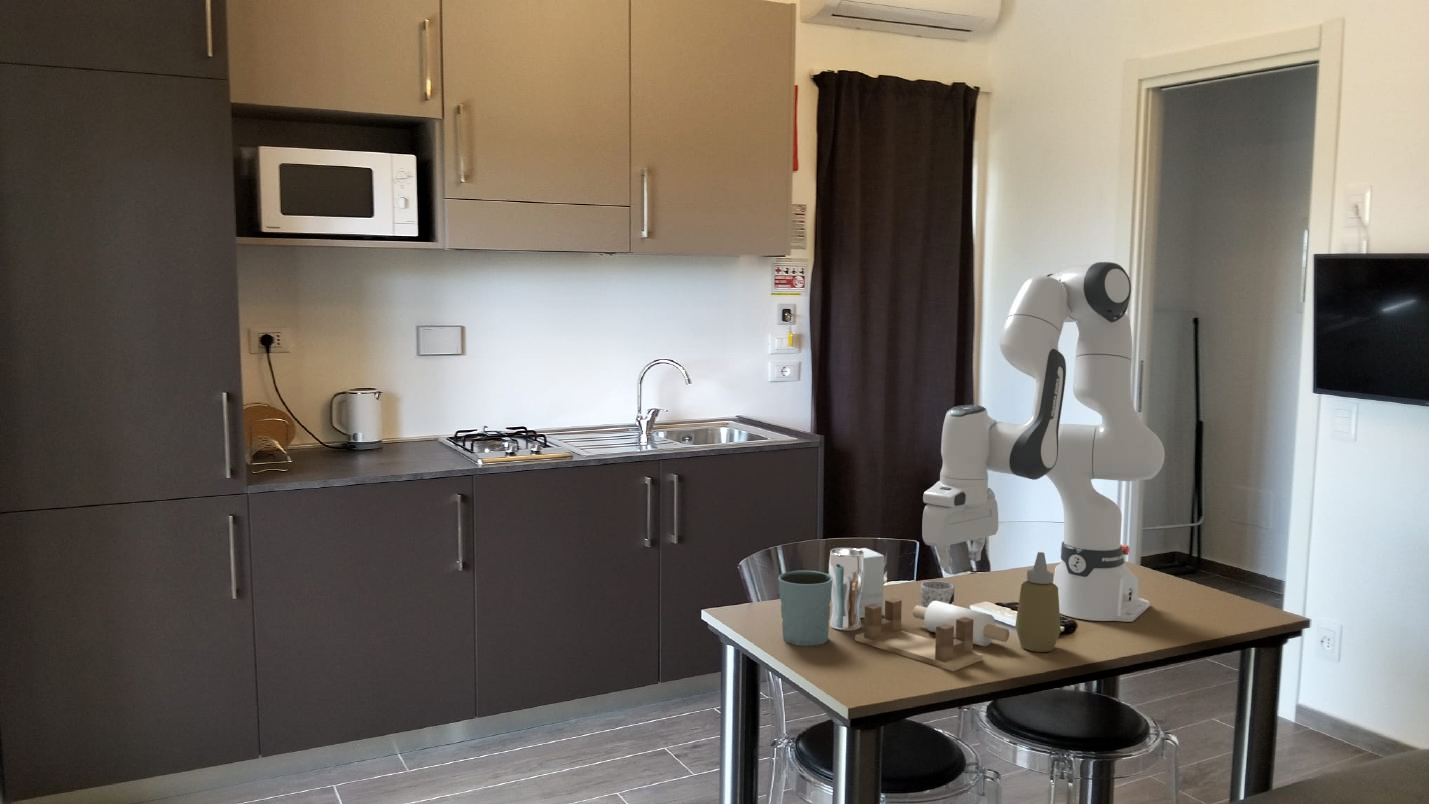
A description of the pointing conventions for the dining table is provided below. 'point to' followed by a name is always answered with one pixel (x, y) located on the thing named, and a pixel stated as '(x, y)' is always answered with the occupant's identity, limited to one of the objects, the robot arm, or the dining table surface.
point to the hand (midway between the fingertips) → (960, 563)
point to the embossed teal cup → (805, 606)
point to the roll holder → (919, 638)
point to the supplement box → (872, 580)
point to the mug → (936, 592)
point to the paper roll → (949, 613)
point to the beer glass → (846, 587)
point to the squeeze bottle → (1038, 609)
